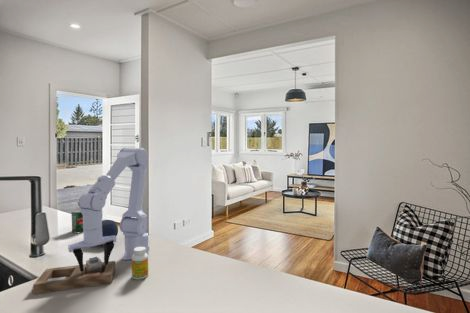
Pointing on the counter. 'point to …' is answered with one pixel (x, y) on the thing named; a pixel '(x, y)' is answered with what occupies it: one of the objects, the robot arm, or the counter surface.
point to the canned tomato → (77, 220)
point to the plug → (93, 265)
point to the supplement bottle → (139, 263)
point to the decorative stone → (109, 228)
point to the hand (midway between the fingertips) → (94, 266)
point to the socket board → (72, 278)
